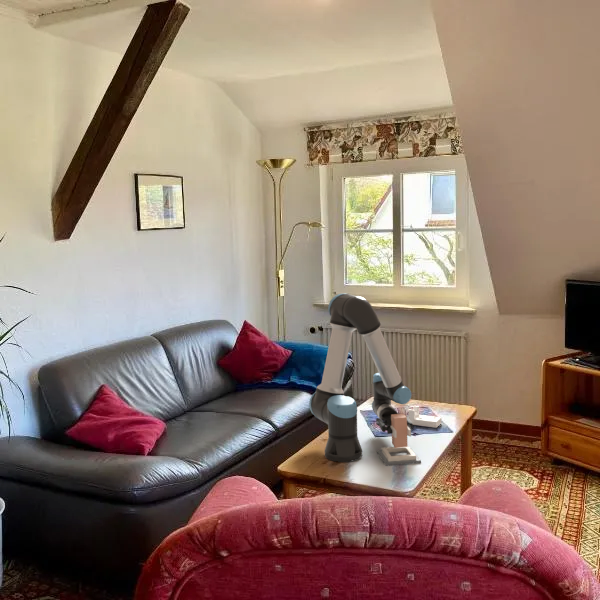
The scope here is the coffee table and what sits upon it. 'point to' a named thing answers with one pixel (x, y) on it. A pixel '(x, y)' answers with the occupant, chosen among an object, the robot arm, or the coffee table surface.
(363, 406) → the coffee table surface
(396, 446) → the block
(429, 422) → the bracket
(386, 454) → the seat frame
